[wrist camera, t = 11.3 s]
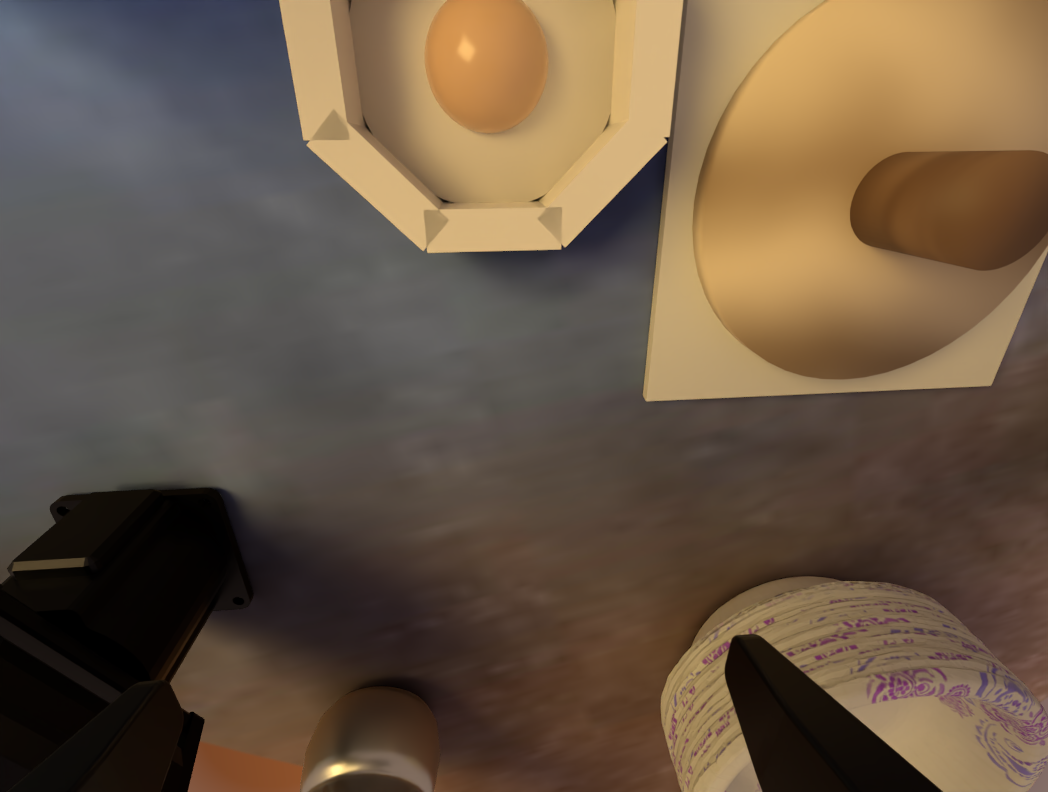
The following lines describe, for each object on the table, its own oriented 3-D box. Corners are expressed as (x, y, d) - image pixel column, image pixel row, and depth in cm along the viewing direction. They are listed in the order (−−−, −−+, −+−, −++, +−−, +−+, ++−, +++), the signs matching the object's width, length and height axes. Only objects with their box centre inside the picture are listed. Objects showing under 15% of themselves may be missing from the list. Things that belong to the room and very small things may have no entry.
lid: (976, 363, 21) (1112, 419, 17) (672, 376, 20) (727, 439, 16) (1134, -32, 16) (1402, -109, 11) (723, -38, 15) (833, -125, 10)
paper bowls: (600, 707, 30) (639, 882, 23) (719, 503, 24) (821, 651, 17) (816, 737, 33) (910, 899, 26) (967, 562, 27) (1144, 709, 20)
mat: (980, 381, 22) (991, 385, 22) (642, 396, 21) (646, 401, 21) (1162, -65, 16) (1183, -71, 15) (689, -74, 15) (696, -81, 14)
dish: (626, 230, 19) (658, 247, 15) (353, 236, 18) (323, 255, 15) (652, -131, 15) (705, -219, 11) (296, -140, 14) (237, -237, 10)
